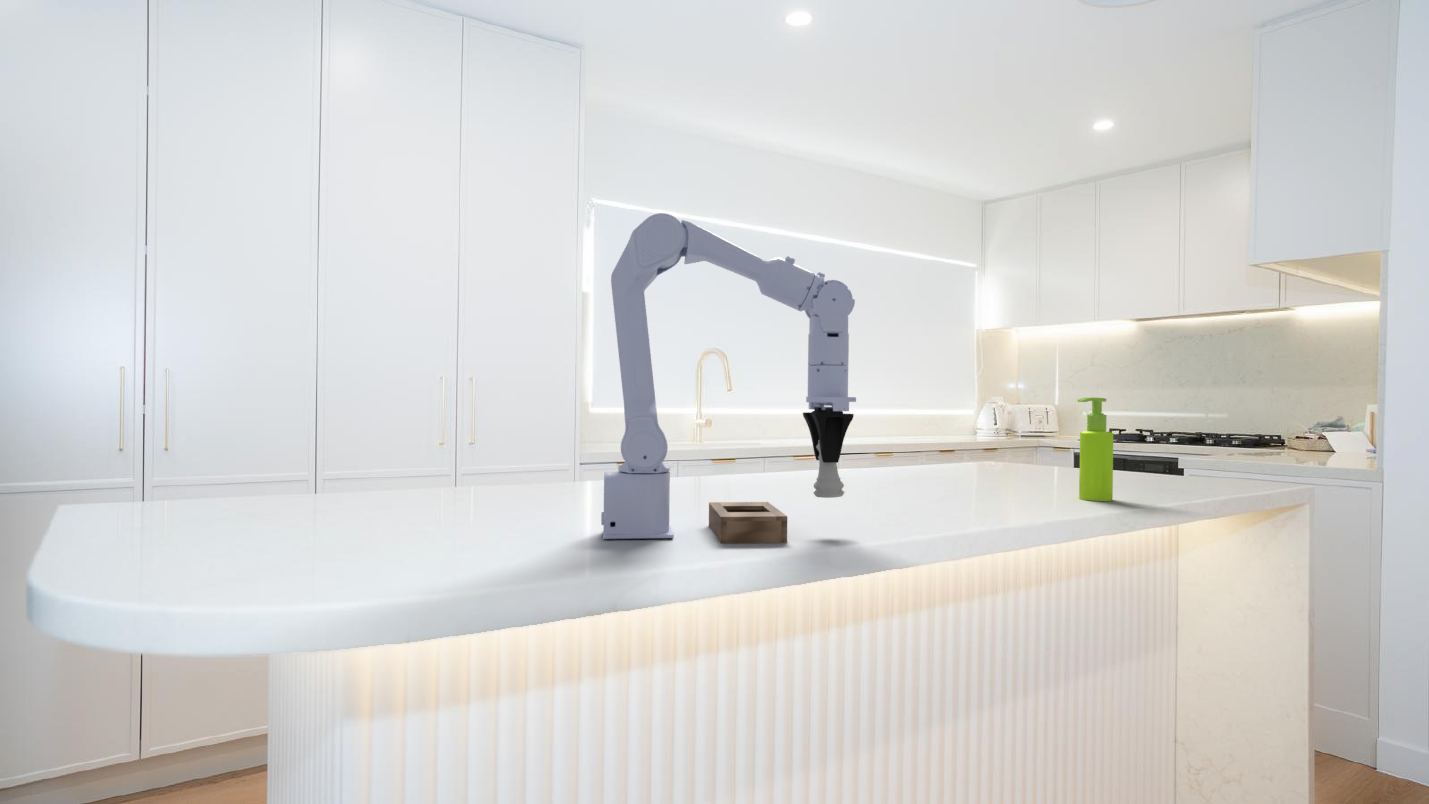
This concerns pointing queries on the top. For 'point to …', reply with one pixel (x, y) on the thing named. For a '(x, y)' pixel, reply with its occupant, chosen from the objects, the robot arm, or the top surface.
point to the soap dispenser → (1096, 456)
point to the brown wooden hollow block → (747, 522)
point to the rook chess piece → (828, 479)
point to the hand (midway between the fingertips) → (826, 461)
